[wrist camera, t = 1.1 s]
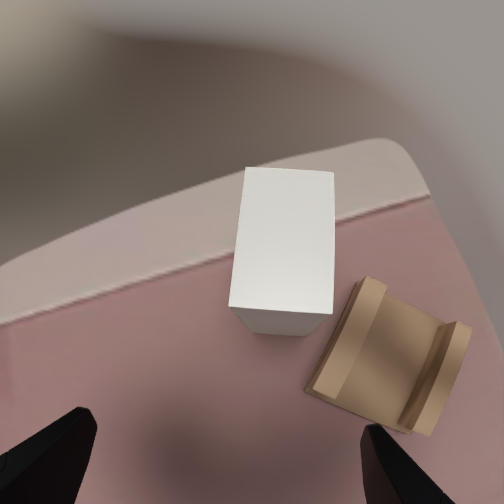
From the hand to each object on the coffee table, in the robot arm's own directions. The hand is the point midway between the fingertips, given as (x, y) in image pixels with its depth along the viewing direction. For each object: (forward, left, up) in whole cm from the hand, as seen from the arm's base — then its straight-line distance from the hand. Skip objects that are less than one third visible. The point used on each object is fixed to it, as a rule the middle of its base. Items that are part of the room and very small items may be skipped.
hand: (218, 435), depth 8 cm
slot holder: (-5, -9, -14) cm, 17 cm away
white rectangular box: (+4, -6, -14) cm, 16 cm away
